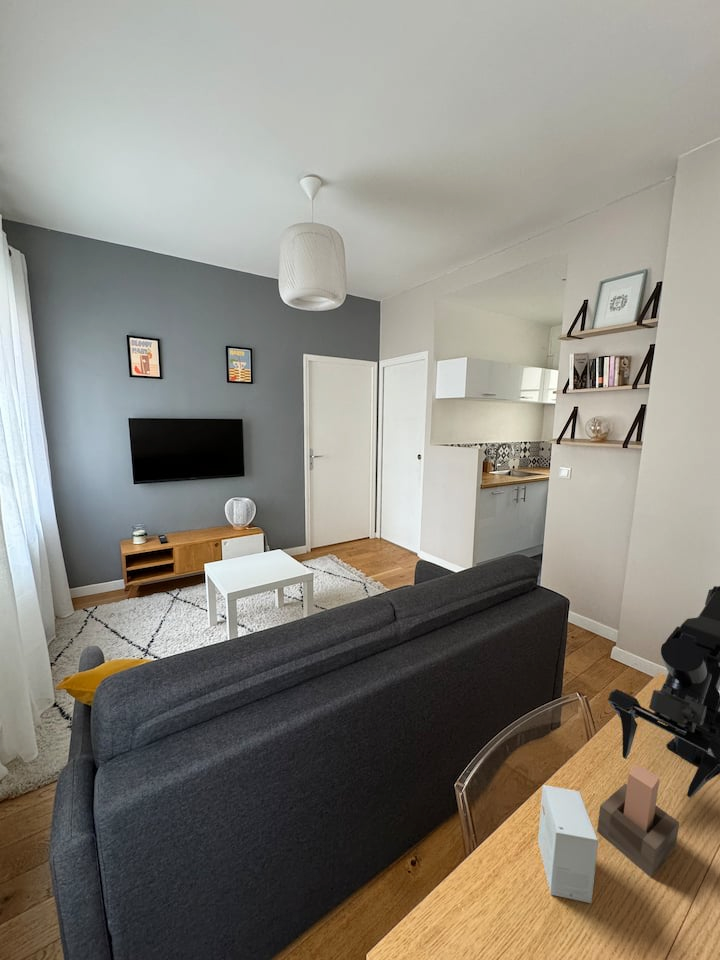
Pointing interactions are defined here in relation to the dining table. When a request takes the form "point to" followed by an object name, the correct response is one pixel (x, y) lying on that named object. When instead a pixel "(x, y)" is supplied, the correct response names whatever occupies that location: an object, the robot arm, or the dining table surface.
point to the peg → (641, 797)
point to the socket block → (638, 833)
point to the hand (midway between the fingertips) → (654, 776)
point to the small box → (567, 844)
